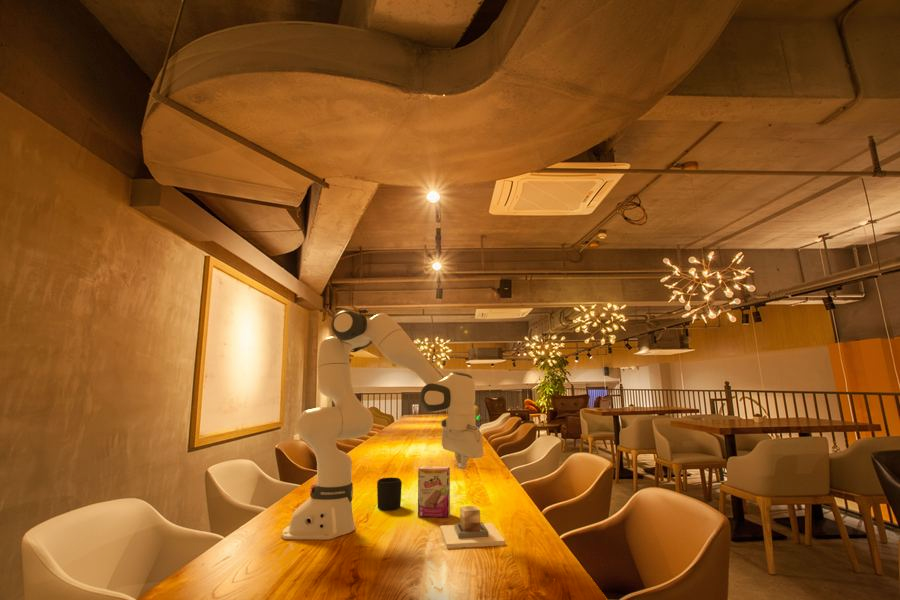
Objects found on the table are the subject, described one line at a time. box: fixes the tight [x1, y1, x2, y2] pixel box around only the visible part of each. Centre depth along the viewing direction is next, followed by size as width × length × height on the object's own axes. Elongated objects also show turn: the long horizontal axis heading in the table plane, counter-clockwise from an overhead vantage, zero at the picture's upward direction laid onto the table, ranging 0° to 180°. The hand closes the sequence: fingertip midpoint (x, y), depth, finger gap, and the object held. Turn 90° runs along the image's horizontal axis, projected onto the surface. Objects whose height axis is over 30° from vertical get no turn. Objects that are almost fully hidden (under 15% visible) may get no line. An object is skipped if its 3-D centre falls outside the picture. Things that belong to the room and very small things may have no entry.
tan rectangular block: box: [459, 505, 481, 532], centre depth 135 cm, size 5×5×7 cm
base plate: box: [439, 521, 506, 549], centre depth 135 cm, size 17×17×3 cm
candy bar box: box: [417, 465, 451, 519], centre depth 158 cm, size 11×5×16 cm, turn 84°
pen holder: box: [376, 477, 403, 511], centre depth 169 cm, size 9×9×10 cm
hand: (461, 468), depth 139 cm, fingers closed
